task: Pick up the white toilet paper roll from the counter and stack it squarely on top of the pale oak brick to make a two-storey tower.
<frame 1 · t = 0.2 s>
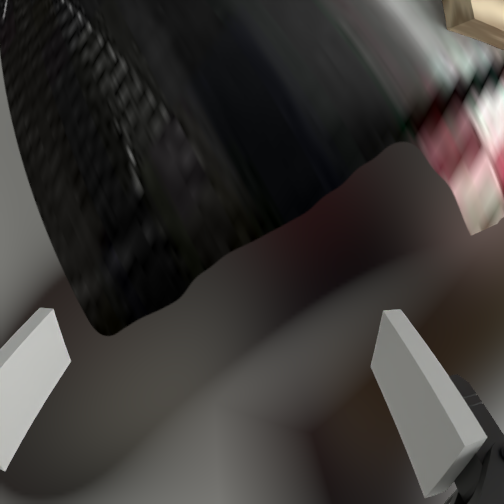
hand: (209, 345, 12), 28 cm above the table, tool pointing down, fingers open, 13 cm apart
oak brick: (473, 4, 27), on the table
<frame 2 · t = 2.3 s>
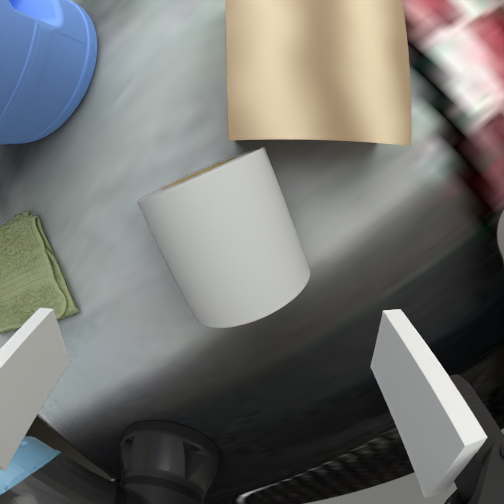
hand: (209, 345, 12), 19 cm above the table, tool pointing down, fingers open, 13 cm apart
toilet paper: (230, 216, 30), on the table
oak brick: (306, 68, 25), on the table
washcloth: (16, 274, 32), on the table
water jug: (38, 70, 24), on the table
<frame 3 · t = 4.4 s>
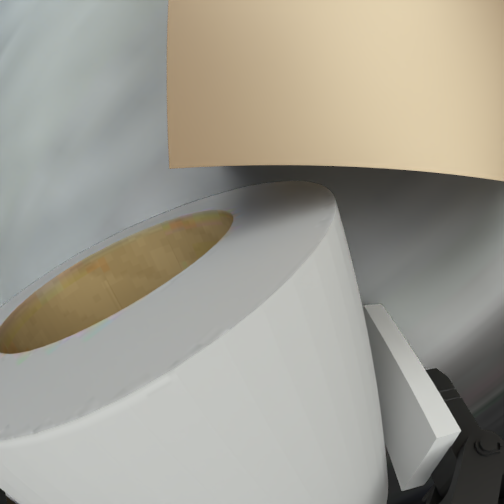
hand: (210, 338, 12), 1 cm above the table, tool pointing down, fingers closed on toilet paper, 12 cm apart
toilet paper: (213, 325, 13), on the table, touching gripper
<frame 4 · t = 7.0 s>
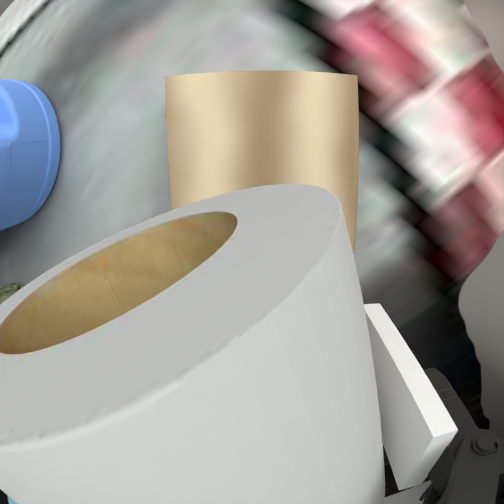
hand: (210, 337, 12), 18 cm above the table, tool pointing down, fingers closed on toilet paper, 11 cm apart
toilet paper: (213, 325, 13), point 17 cm above the table, touching gripper
oak brick: (260, 159, 28), on the table
water jug: (10, 152, 26), on the table
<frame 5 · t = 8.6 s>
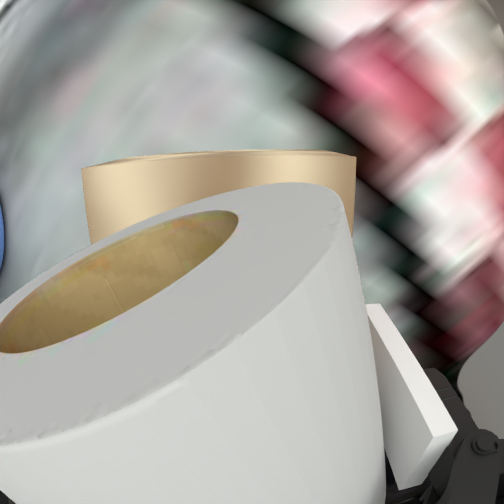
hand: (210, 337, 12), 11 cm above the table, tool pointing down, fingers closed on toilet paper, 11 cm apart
toilet paper: (213, 325, 13), point 10 cm above the table, touching gripper
oak brick: (227, 245, 23), on the table
when the fingers open (9 cm above the table, at t = 9.5 s): toilet paper drops 2 cm, resting on oak brick.
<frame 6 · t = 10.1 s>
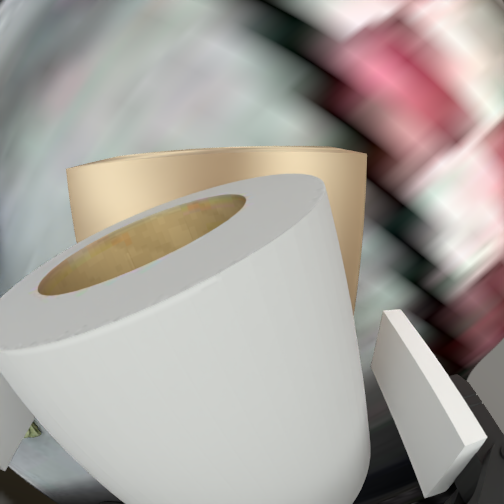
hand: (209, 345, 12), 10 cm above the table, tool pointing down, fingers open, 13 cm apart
toilet paper: (217, 300, 15), point 6 cm above the table, touching oak brick
oak brick: (226, 248, 21), on the table, touching toilet paper
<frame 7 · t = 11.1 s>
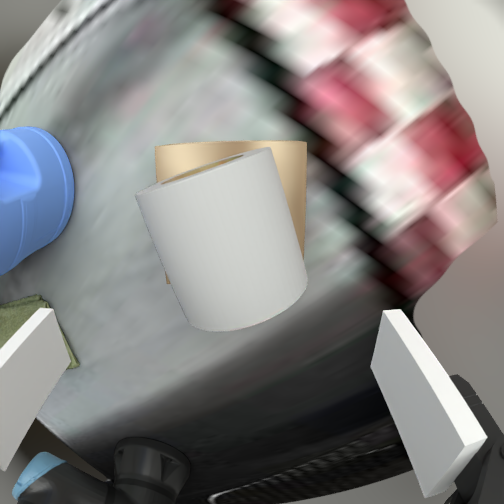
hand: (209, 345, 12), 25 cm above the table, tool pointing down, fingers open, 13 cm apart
toilet paper: (229, 216, 29), point 6 cm above the table, touching oak brick
oak brick: (235, 200, 35), on the table, touching toilet paper
washcloth: (30, 332, 42), on the table
water jug: (30, 186, 34), on the table
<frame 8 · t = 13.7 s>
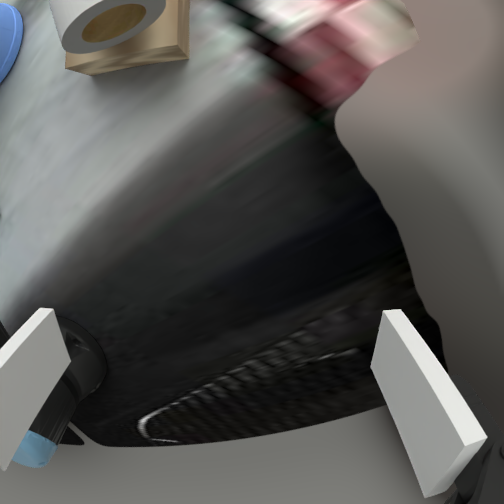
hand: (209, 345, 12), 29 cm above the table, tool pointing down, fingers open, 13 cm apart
toilet paper: (119, 4, 24), point 6 cm above the table, touching oak brick
oak brick: (139, 21, 31), on the table, touching toilet paper
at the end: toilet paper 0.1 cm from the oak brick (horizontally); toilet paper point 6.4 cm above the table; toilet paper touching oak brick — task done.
